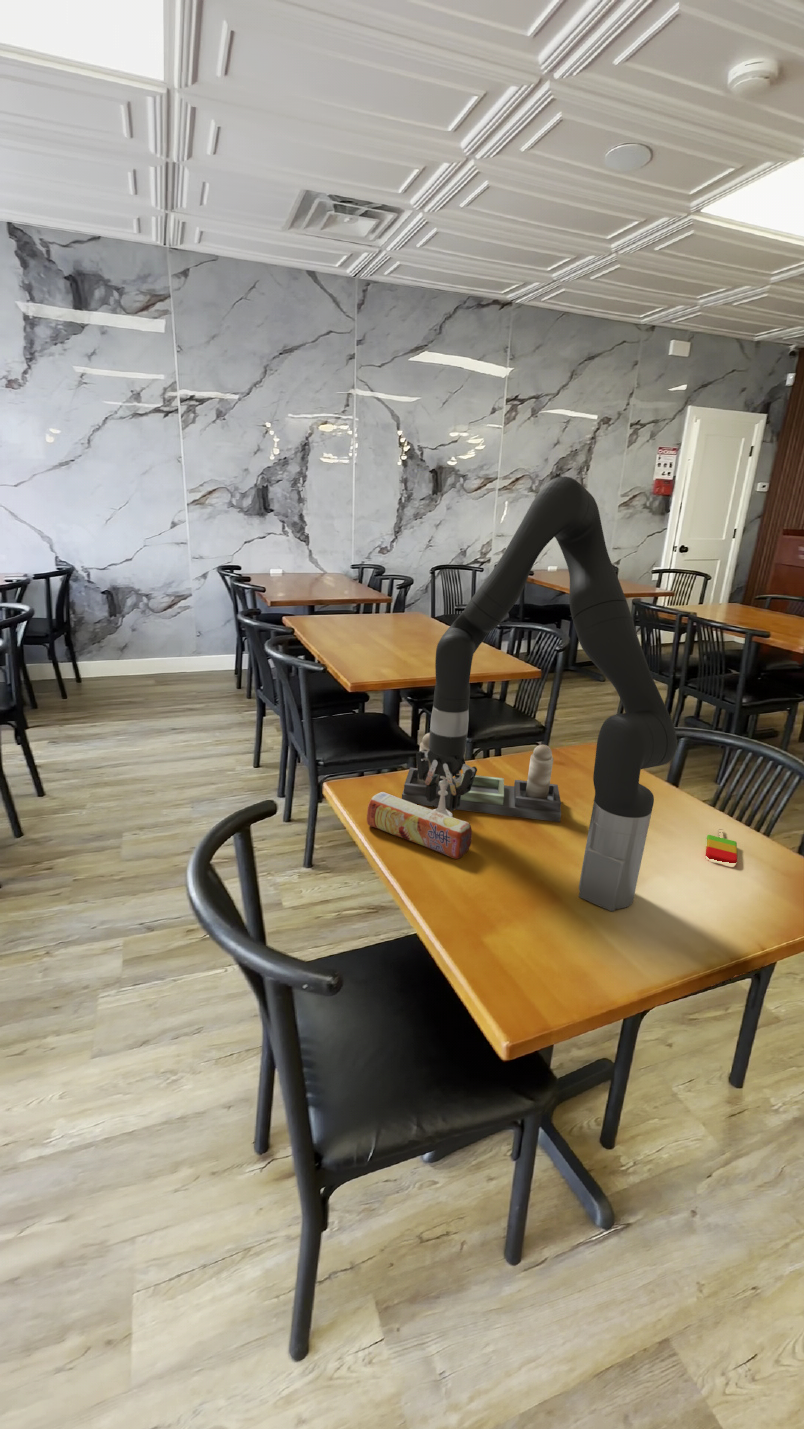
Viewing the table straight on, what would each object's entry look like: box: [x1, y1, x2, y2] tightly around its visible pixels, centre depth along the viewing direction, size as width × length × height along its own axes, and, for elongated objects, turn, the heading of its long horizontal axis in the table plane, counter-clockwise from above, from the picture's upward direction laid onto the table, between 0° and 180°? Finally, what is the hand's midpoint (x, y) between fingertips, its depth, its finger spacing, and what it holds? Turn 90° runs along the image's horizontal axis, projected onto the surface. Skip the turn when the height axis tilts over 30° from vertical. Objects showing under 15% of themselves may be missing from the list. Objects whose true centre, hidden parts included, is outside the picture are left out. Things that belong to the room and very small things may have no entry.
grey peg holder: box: [401, 732, 562, 823], centre depth 142 cm, size 34×11×15 cm, turn 82°
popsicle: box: [705, 828, 738, 863], centre depth 131 cm, size 6×15×2 cm, turn 155°
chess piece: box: [433, 776, 453, 817], centre depth 135 cm, size 5×5×10 cm
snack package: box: [366, 791, 473, 860], centre depth 127 cm, size 21×7×7 cm, turn 57°
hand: (442, 804), depth 136 cm, fingers open, 5 cm apart
